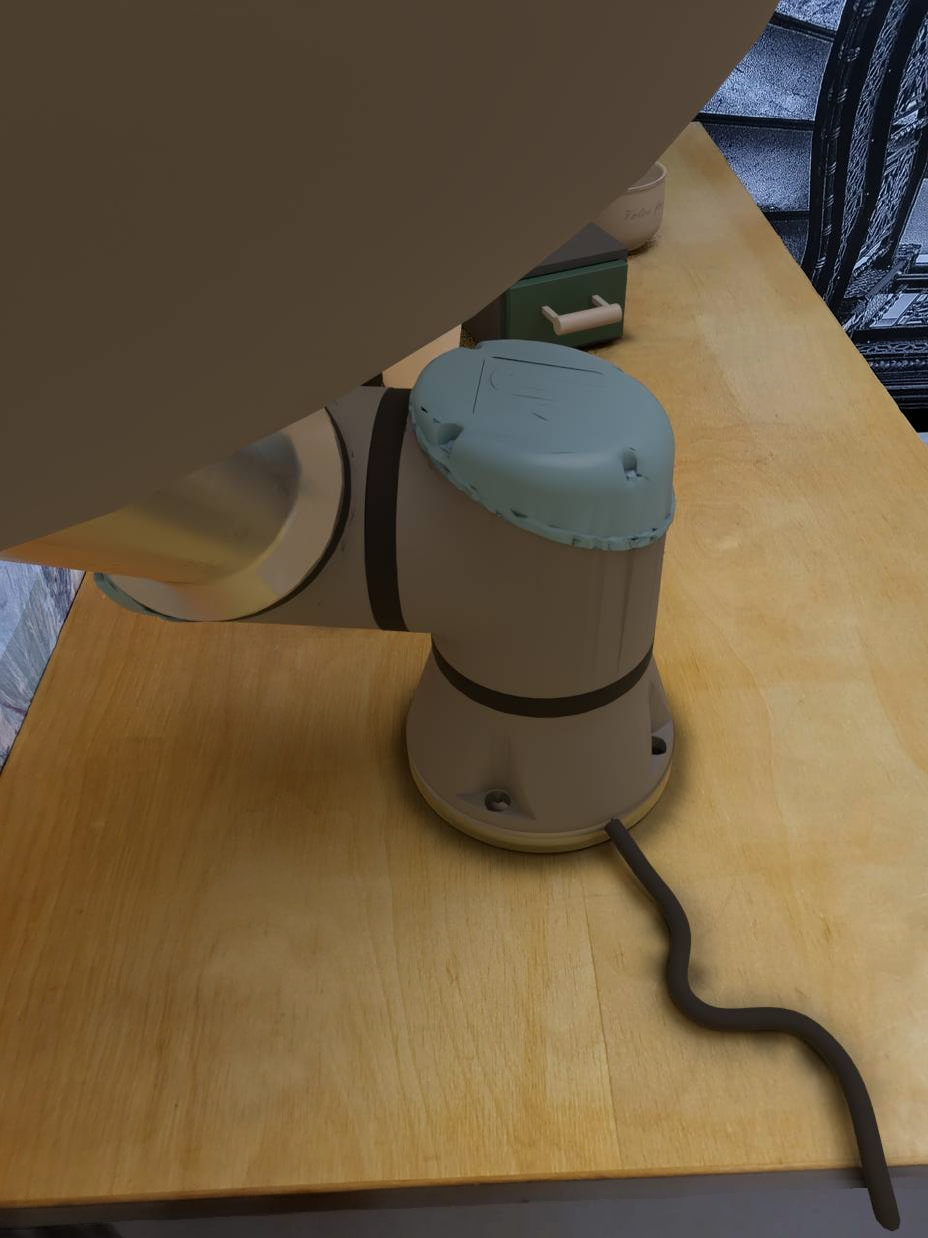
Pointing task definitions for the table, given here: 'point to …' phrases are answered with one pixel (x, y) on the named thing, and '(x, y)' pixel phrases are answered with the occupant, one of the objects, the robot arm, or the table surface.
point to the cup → (420, 360)
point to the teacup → (636, 210)
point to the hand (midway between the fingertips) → (357, 432)
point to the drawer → (569, 305)
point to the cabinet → (575, 253)
